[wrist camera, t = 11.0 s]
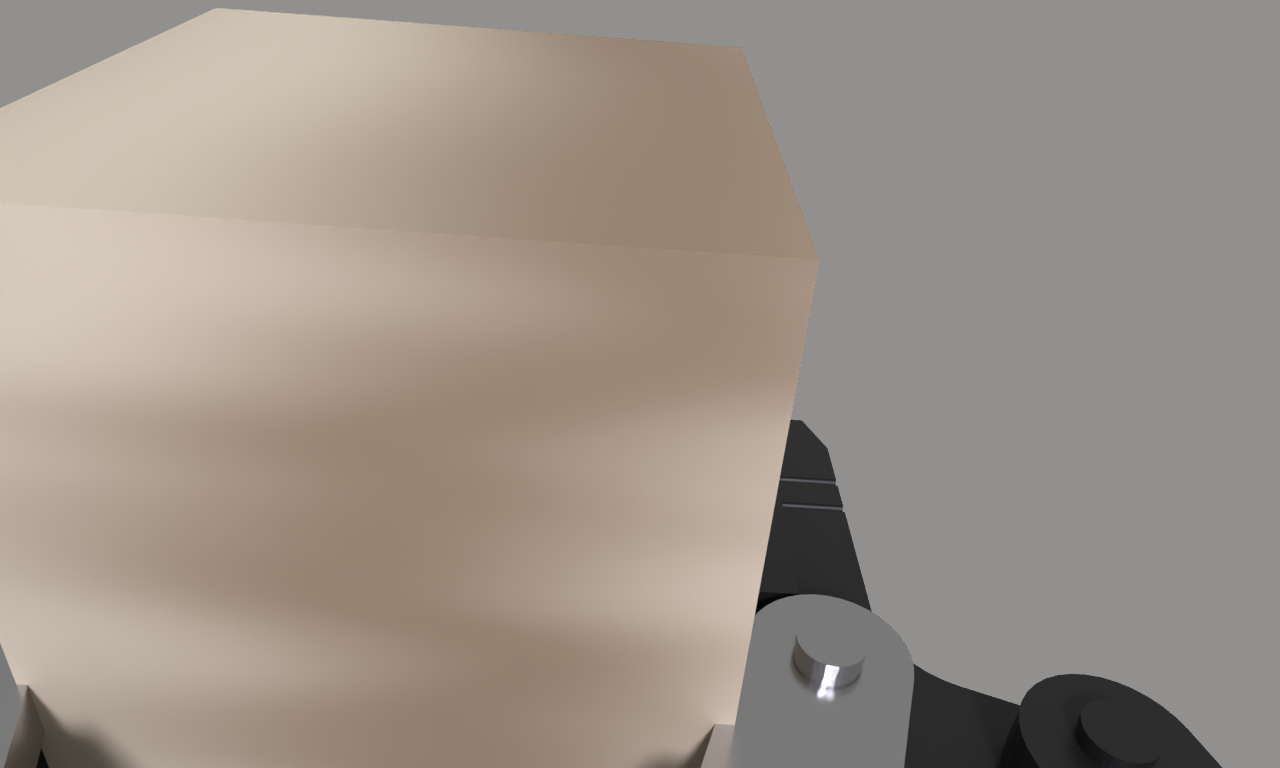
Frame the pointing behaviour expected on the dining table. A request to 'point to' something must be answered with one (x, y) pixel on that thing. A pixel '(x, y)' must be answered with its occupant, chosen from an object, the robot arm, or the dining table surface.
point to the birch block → (391, 395)
